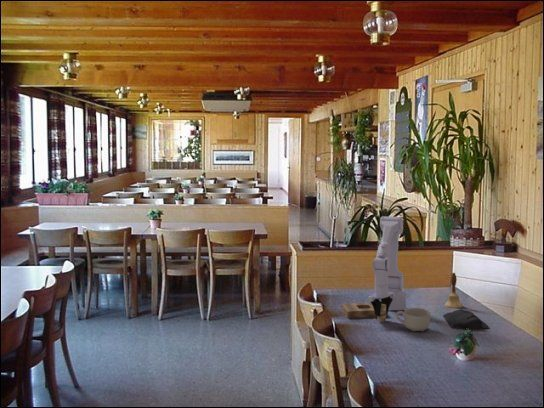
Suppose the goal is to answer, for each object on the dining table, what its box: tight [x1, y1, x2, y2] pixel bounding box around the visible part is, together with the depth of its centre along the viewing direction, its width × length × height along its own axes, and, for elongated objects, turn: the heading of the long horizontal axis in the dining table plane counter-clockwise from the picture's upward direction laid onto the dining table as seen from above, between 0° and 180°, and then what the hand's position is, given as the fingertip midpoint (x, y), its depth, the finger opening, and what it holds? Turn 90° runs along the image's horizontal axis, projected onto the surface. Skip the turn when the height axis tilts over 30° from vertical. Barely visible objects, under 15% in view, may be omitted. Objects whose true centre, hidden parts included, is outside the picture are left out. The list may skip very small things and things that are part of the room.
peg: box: [377, 304, 386, 323], centre depth 262 cm, size 4×4×7 cm
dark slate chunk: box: [442, 308, 490, 331], centre depth 257 cm, size 15×22×5 cm
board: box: [341, 302, 388, 319], centre depth 275 cm, size 18×14×3 cm
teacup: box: [395, 307, 431, 332], centre depth 248 cm, size 14×11×8 cm
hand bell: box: [444, 272, 464, 309], centre depth 284 cm, size 8×8×16 cm
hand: (381, 314), depth 262 cm, fingers closed on peg, 4 cm apart
